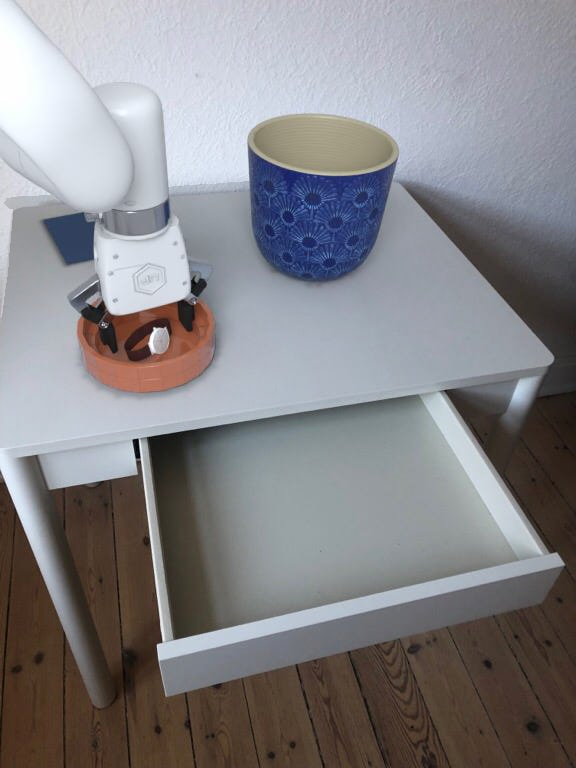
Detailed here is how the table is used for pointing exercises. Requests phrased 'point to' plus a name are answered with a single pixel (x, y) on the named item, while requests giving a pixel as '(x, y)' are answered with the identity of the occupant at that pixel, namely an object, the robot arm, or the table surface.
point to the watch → (156, 342)
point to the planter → (318, 192)
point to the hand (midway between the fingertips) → (149, 335)
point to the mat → (73, 236)
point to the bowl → (157, 370)
